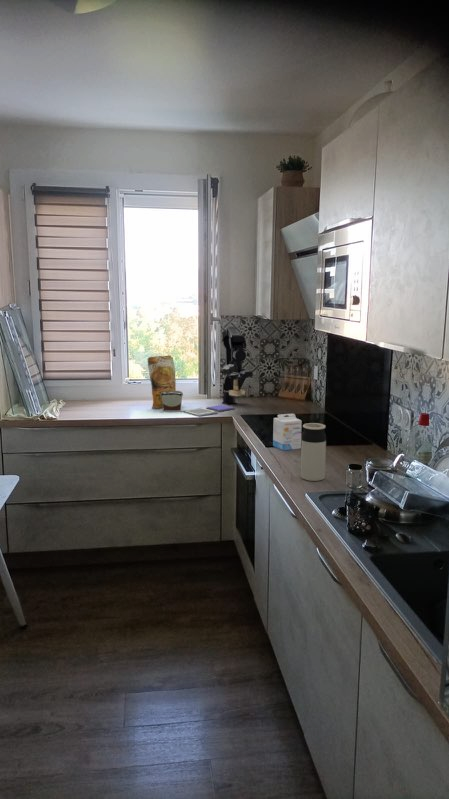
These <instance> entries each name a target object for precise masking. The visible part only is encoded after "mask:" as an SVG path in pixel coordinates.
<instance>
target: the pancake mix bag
mask: <svg viewBox="0 0 449 799" xmlns="http://www.w3.org/2000/svg"><path fill="white" fill-rule="evenodd" d="M173 357H174V356H172V355H170V354H169V355H159V356H150V357H148V358H147V367H148V368H147V369H148V372H149V380H150V384H151V394H152V395H151V396H152V406H151V407H152V409H163V404H162V396H160V395H161V392H163V391H177V390H176V387H177V386H176V384H177V383H176V382H177V381H176V379H177V378H176V369H175V362H174V358H173Z"/></svg>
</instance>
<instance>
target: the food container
mask: <svg viewBox="0 0 449 799" xmlns="http://www.w3.org/2000/svg"><path fill="white" fill-rule="evenodd" d="M160 396H162V404H163V408H162V409H163V410H162V411H164V412H165V411H166V412H169V411H170V412H182V401H183V396H184V393H183V391H181V390H176V391H163V392H161V395H160Z"/></svg>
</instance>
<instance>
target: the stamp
mask: <svg viewBox="0 0 449 799" xmlns="http://www.w3.org/2000/svg"><path fill="white" fill-rule="evenodd" d="M245 395H246V390H244V389H243V390H242V389H238V379H234V390H229V396H233V397H235V398H240V397H241V398H242V397H246V396H245Z"/></svg>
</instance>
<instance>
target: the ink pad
mask: <svg viewBox="0 0 449 799" xmlns="http://www.w3.org/2000/svg"><path fill="white" fill-rule="evenodd" d="M205 409H208V410H212V411H215V412H218V413H222V412H227V411H233V410H236V408H235V407H234V406H233V407H232V406H230V405H226V404H225V405H224V404H218V405H212V406H207V407H206V408H205Z"/></svg>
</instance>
